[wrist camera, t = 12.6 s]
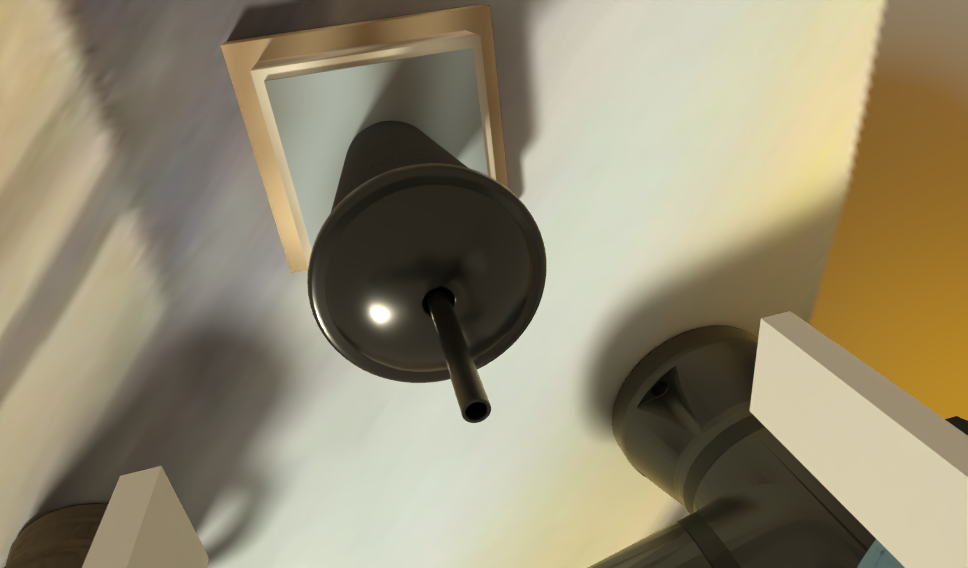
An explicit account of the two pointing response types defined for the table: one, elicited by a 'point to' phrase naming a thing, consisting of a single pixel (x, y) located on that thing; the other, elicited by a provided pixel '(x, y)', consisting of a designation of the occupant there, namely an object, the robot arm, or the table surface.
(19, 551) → the beer stein
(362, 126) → the plinth
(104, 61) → the table surface
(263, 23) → the table surface
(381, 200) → the drinking cup
